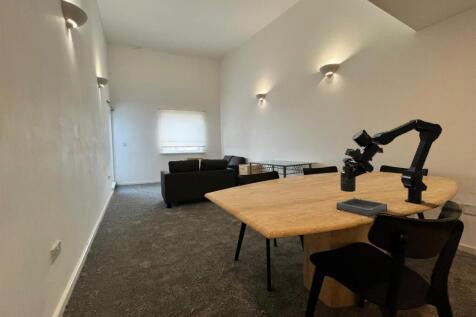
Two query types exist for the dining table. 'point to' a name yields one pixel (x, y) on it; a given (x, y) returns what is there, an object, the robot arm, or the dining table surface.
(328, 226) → the dining table surface
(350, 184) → the supplement bottle
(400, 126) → the robot arm
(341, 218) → the dining table surface
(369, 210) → the slate tray
